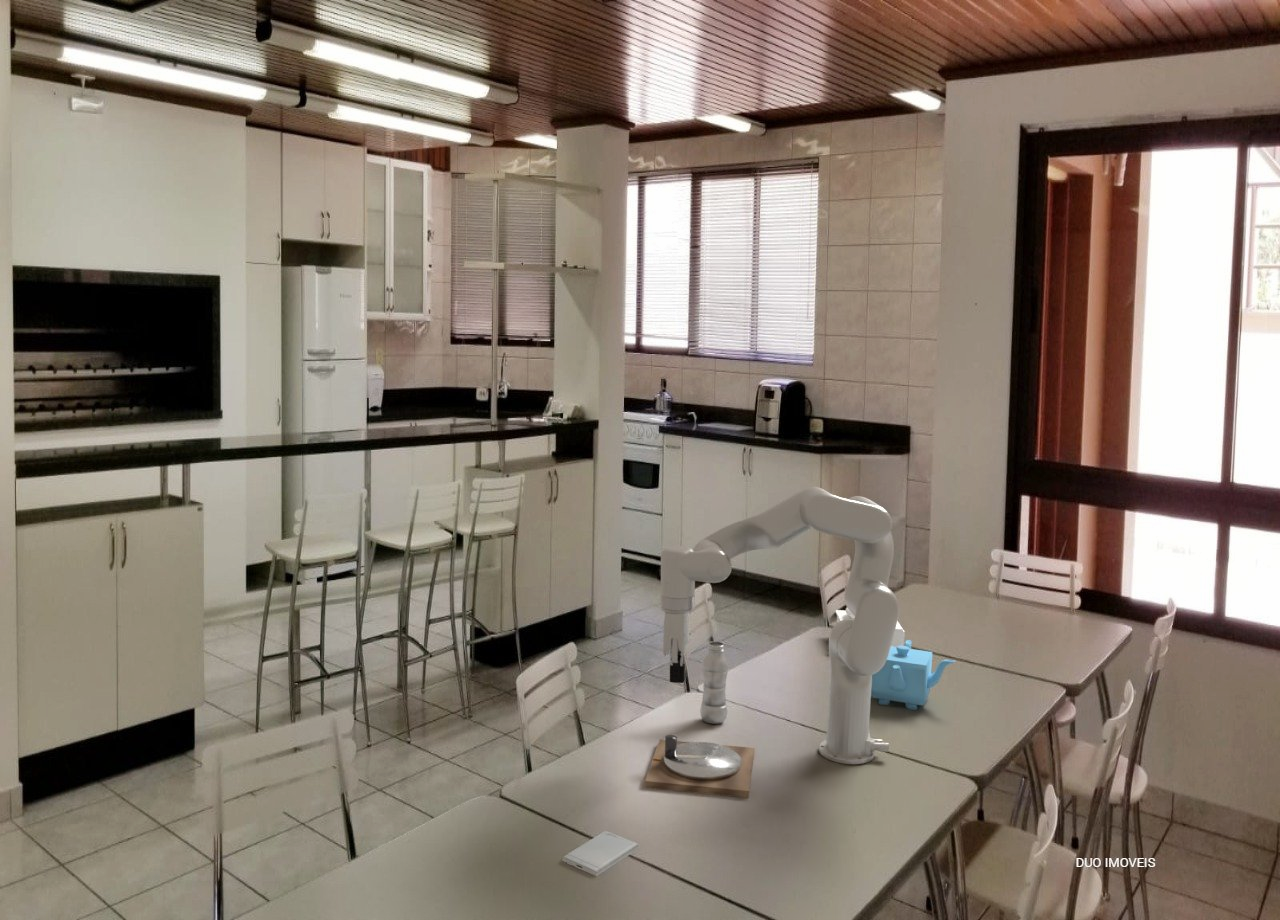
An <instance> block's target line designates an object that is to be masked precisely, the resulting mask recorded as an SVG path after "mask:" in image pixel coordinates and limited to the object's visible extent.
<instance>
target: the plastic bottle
mask: <svg viewBox="0 0 1280 920" xmlns="http://www.w3.org/2000/svg"><path fill="white" fill-rule="evenodd" d="M724 646H725V645H724V643H723V642H721V641H709V642H708V648H707V652H708V653H707V654H706V655H705V656H704V658H702V662H701V668H702V669H701V671H702V679H703V684H702V685H703V690H702V702H701V705H700V711H699V712H700V717H701V719H702V721H704V722H706V723H708V724H716V725H717V724H722V723H724V722H725V721H726V719H727V716H728V706H727V699H726V689H727V687H726V686H727V677H728V671H729V662H728V660H727V657H726V655H725V654H724V651H725V649H724Z"/></svg>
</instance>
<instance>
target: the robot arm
mask: <svg viewBox="0 0 1280 920" xmlns="http://www.w3.org/2000/svg"><path fill="white" fill-rule="evenodd" d="M892 528H893V521H892V516H891V514H890V513H889V512H888V510H886V509H885V508H884V507H883V506H881V505H879V504H878V503H876V502H875V501H873V500H871V499H869V498H867V497H864V496H860V495H854V496H851V497H849V498H845V497H841V496H837V495H835V494H832V493H830V492H828V491H827V490H825V489H823V488H821V487H819V486H809V487H806V488H803V489H802V490H799V491H798V492H795V493H794V494H792V495H791V496H789V497H787V498H785V499H783V500H782V501H780V502H779V503H778V502H777V503H776V504H775V505H773V506H772V507H770V508H767V509H766V510H763V511H762V512H760V513H757V514H756V515H753V516H749V517H747V518H744V519H741V520H739V521H736V522H733V523H731V524H729V525H726V526H724V527H721V528H720V529H718V530H716V531H715V532H713V533H711V534H709V535H708V536H706V537H705V538H703V539H701V540H699V541H698V542H697V543H696V544H695V545H694V547H692V548H691V547H687V546H683V545H673V546H667V547H665V548H663V550H662V551H661V553H660V610H661V611H663V612H664V618H663V632H662V633H663V634H662V638H663V639H662V641H663V642H662V655H663V656H664V657H665V656H666V655H667V656H668V655H669V659H670V660H669V663H670V664H669V682H670V683H676V684H684V682H685V680H686V679H685V678H686V673H685V672H686V668H685V667H686V663H685V654H686V652H687V649H688V646H689V641H690V639H689V638H690V613H691V612H693V611H695V605H696V604H695V603H696V602H695V601H696V600H695V598H696V597H695V595H696V594H695V592H696V587H695V586H696V582H702V583H709V584H711V583H712V584H716V583H721V582H723V581H725V580H726V579H728V577H729V576H730V575H731V573H732V568H733V567H732V561H731V560H733V558H734V559H735V557H738V556H739V555H742V554H744V553H747V552H751V551H757V550H758V551H759V550H767V551H768V550H774V549H777V548H780V547H781V546H783V545H785V544H786V543H788V542H790V541H792V540H793V539H795V538H797V537H799V536H801V535H803V534H804V533H807V532H808V531H809V530H810V531H811V530H812V529H813V530H814V531H816V532H820V533H823V534H826V535H830V536H834V537H838V538H842V539H845V540H846V539H847V540H851V541H854V545H855V547H854V548H855V550H854V555H853V556H854V557H853V561H852V566H851V569H850V573H849V577H848V581H847V585H846V588H845V591H844V603H845V606H846V608H848V609H849V610H850V611H851V612H852V613H853V614H854V615H855V618H854V619H844V620H841V621H840V622H838V623H837V622H836V624H835V625H833V627H832V629H831V630H830V634H829V637H828V654H829V658H828V659H829V686H828V700H827V718H826V722H827V723H826V735H825V736H826V738H825V739H824V740H822V741H821V742H820V743H819V746H818V752H819V753H820V755H821V756H822V757H824V758H825V759H826V760H828V761H831V762H835V763H838V764H844V765H861V764H866V763H869V762H870V761H872V760H873V759H874V758H875V751H879V752H889V749H890V747H889V746H890V745H889V743H888V742H884V741H883V739H881V738H880V739H879V738H877V739H876V738H873V737H871V734H870V719H871V699H872V697H871V690H872V675H873V674H875V673H877V672H878V671H880V670H881V668H882V667H883V666H884V664H885V662H886V660H887V658H888V655H889V651H890V648H891V644H892V640H893V636H894V632H895V629H896V625H897V621H898V620H899V615H900V608H899V607H900V606H899V602H898V598H897V596H896V595H895V593H894V592H893V591H892V590H891V588H889V580H890V575H891V570H892V567H893V561H894V553H895V545H894V537H893V534H892V531H891V530H892ZM898 622H899V621H898Z"/></svg>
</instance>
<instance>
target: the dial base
mask: <svg viewBox="0 0 1280 920" xmlns="http://www.w3.org/2000/svg"><path fill="white" fill-rule="evenodd" d="M688 742H689V741H680V740H677V745H678V744H682V743H688ZM722 745H723V746H726V747H728V748H730V749H732V750H734V751H735V752H736V753H737V754H738V755H739V756H740V758H741V767H740V769H739V771H738V772H737V773H735V774H734V775H732V776H729V777H727V778H723V779H717V780H696V779H689V778H685V777H682V776H679V775H676V774H674V773H672V772H671V771H669V770H668V769H667V768H666V767H665V765H664V754H665V739H659V741H658V744H657V745H656V746H657V747H656V750H655V752H654V755H653V758H652V760H651V764H650V765H649V766H650V767H649V768H648V772H647V775H646V778H645V781H644V788H645V787H646V789H655V788H656V789H655V790H657V789H658V790H666V791H667V790H668V791H676V792H686V793H697V794H707V795H708V794H709V795H715V796H717V795H719V796H725V797H726V796H727V797H728V796H729V797H736V798H737V797H738V798H739V797H740V798H748V799H749V797H750V793H751V792H750V791H751V782H752V774H753V767H754V760H755V747H747V746H736V745H728V744H727V745H726V744H722Z"/></svg>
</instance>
